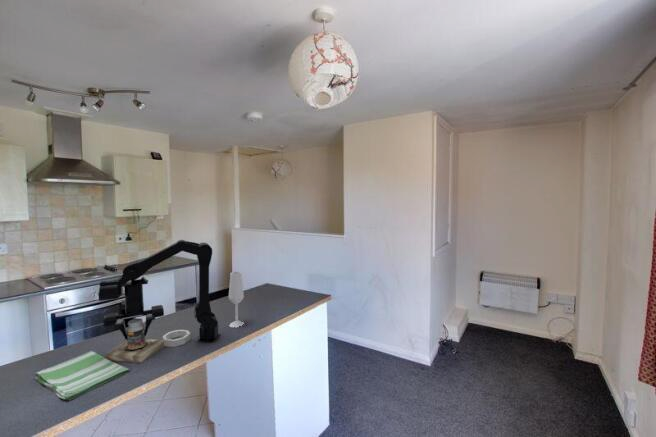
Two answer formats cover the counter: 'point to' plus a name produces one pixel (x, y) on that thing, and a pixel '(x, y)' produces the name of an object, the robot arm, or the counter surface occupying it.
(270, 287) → the counter surface
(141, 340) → the pill bottle
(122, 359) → the socket plate
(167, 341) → the octagonal ring
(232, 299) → the champagne flute
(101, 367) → the dish towel
